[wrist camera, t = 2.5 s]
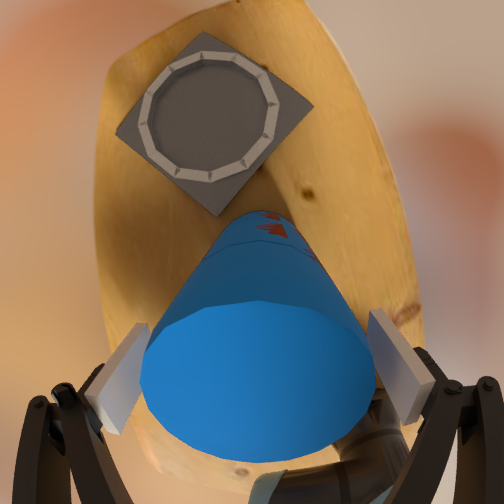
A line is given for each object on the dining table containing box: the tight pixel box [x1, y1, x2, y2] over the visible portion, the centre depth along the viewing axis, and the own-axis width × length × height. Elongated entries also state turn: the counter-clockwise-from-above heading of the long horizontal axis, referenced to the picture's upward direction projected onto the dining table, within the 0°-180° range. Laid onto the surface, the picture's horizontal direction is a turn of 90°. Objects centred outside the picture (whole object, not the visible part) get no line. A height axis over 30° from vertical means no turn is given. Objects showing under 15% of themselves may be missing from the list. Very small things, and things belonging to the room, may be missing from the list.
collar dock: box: [115, 32, 314, 218], centre depth 29 cm, size 18×18×2 cm
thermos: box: [139, 211, 376, 463], centre depth 22 cm, size 11×11×25 cm
